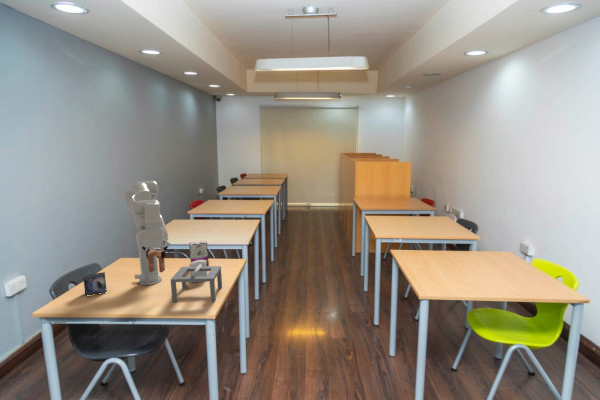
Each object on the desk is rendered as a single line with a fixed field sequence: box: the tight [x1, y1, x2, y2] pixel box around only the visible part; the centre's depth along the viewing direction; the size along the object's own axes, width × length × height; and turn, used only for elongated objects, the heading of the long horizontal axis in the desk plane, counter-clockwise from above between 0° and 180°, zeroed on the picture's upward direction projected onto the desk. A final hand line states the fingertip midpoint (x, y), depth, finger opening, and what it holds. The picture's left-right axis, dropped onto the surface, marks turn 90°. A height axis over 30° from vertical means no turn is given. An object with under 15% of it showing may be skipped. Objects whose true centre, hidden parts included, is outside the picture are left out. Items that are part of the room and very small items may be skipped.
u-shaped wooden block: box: [148, 249, 166, 273], centre depth 205 cm, size 7×4×11 cm, turn 90°
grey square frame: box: [170, 264, 223, 303], centre depth 206 cm, size 22×19×14 cm
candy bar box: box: [188, 240, 210, 266], centre depth 251 cm, size 11×5×16 cm, turn 113°
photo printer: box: [189, 260, 208, 277], centre depth 227 cm, size 10×4×12 cm, turn 123°
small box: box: [83, 271, 108, 297], centre depth 211 cm, size 11×6×10 cm, turn 117°
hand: (156, 257), depth 204 cm, fingers closed on u-shaped wooden block, 7 cm apart
